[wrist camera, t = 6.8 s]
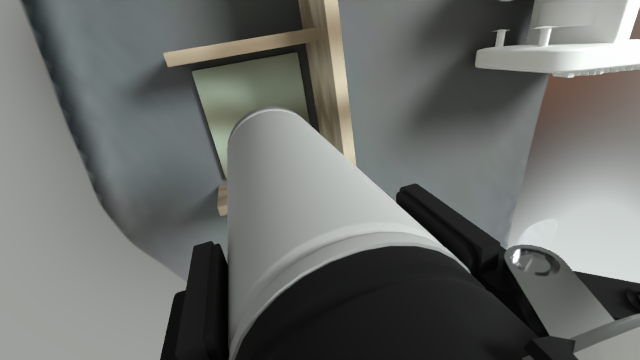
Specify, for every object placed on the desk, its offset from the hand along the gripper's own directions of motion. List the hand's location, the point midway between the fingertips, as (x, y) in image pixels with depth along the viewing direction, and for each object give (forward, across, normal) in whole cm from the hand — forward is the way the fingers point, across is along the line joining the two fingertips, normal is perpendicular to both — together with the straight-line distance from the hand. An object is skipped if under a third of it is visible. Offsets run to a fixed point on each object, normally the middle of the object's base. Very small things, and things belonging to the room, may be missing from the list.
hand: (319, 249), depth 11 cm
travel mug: (+13, 0, 0) cm, 13 cm away
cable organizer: (+23, -32, -5) cm, 40 cm away
